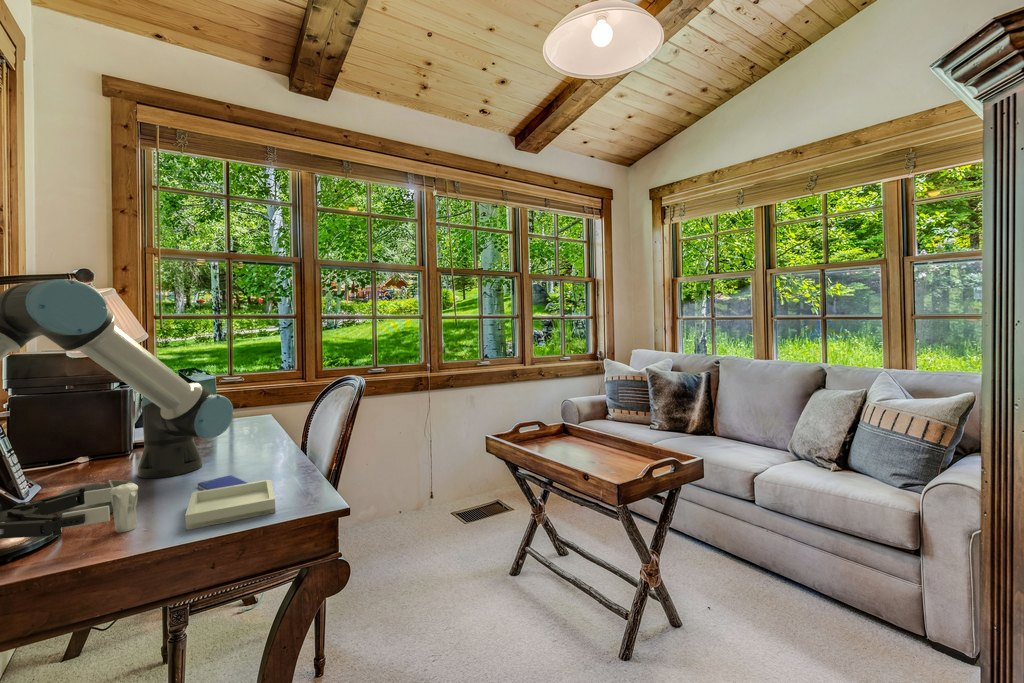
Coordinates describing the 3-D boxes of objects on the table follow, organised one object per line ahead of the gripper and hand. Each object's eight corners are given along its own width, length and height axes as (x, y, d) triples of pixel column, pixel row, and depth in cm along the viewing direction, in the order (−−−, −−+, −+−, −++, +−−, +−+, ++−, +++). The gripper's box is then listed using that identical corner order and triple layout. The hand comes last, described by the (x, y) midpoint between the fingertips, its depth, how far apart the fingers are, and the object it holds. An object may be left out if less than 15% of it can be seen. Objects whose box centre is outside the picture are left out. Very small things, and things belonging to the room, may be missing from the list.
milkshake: (122, 524, 99) (119, 476, 99) (146, 524, 99) (143, 476, 98) (101, 533, 95) (98, 484, 94) (126, 534, 94) (123, 484, 94)
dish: (131, 511, 107) (130, 489, 107) (47, 527, 99) (45, 503, 99) (139, 493, 119) (138, 474, 119) (64, 506, 112) (63, 485, 111)
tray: (193, 505, 109) (192, 492, 109) (271, 491, 117) (270, 479, 117) (186, 530, 95) (185, 515, 95) (275, 512, 103) (274, 498, 103)
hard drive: (197, 482, 122) (215, 492, 114) (232, 474, 129) (251, 483, 121) (197, 489, 122) (215, 499, 114) (232, 480, 129) (251, 489, 121)
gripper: (-2, 523, 96) (131, 501, 107) (-73, 578, 75) (102, 544, 85) (-4, 486, 96) (129, 468, 106) (-77, 531, 74) (100, 502, 85)
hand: (117, 502), depth 96 cm, fingers open, 13 cm apart
